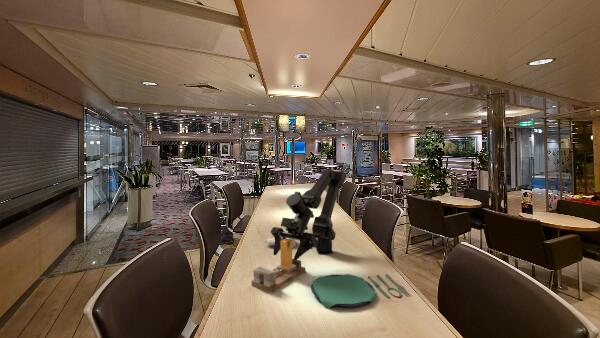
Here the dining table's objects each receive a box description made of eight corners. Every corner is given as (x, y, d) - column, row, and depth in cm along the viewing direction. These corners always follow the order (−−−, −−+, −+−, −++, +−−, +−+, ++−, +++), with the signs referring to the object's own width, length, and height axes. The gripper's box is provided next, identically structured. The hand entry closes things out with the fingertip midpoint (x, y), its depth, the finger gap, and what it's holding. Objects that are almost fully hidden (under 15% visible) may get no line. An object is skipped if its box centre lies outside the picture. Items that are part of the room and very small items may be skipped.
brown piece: (286, 266, 107) (285, 252, 107) (305, 271, 102) (305, 256, 102) (251, 285, 91) (251, 268, 91) (272, 292, 86) (271, 275, 86)
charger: (262, 243, 136) (291, 241, 139) (263, 250, 127) (295, 247, 130) (262, 234, 136) (291, 232, 139) (263, 239, 127) (295, 237, 130)
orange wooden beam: (285, 265, 103) (285, 237, 103) (296, 268, 101) (295, 239, 100) (265, 276, 94) (264, 245, 94) (276, 280, 91) (276, 248, 91)
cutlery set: (305, 281, 94) (305, 275, 94) (386, 275, 99) (386, 269, 99) (319, 315, 74) (319, 307, 74) (419, 305, 80) (419, 297, 80)
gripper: (273, 206, 107) (253, 241, 99) (313, 211, 97) (295, 251, 88) (285, 222, 114) (268, 256, 106) (324, 228, 104) (309, 267, 95)
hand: (284, 257), depth 99 cm, fingers open, 9 cm apart
